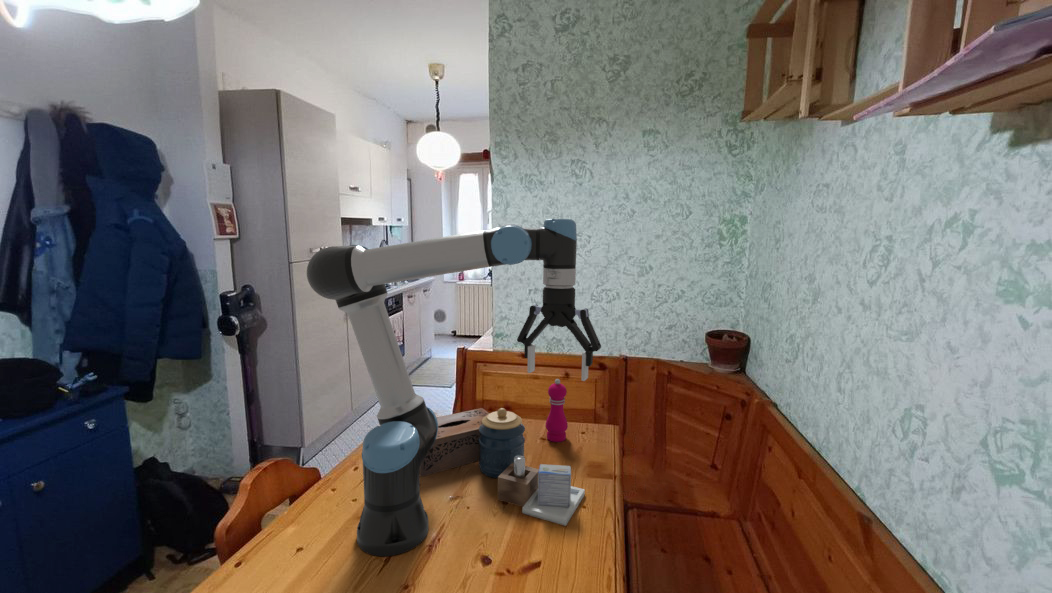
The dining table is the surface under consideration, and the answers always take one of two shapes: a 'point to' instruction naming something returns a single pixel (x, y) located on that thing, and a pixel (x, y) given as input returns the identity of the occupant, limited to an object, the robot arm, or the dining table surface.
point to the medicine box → (554, 485)
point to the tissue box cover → (454, 442)
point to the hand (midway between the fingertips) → (557, 375)
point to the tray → (554, 508)
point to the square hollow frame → (517, 485)
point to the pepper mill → (556, 413)
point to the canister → (500, 441)
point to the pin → (519, 467)
